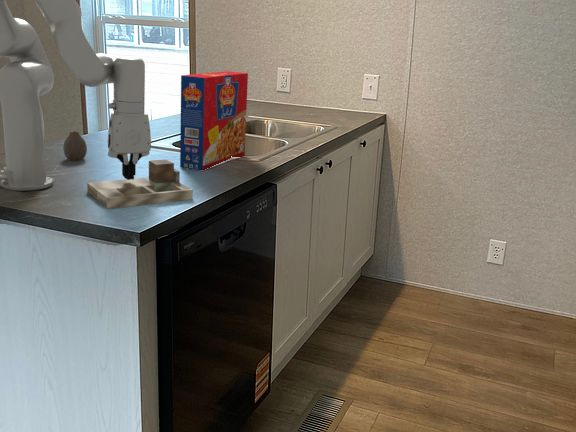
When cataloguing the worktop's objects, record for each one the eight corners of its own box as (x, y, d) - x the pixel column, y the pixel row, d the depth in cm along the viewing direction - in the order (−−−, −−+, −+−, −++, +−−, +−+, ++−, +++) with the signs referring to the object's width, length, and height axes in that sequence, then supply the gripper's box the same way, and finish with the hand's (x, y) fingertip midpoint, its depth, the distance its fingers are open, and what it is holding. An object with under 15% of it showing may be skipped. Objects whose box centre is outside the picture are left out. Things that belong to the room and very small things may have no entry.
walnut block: (156, 183, 166) (156, 164, 164) (148, 178, 170) (148, 160, 168) (173, 181, 169) (173, 163, 167) (166, 177, 173) (166, 159, 171)
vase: (59, 160, 195) (57, 132, 193) (73, 156, 201) (72, 129, 199) (77, 163, 193) (76, 134, 190) (91, 159, 199) (90, 131, 197)
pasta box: (202, 171, 193) (204, 77, 185) (180, 167, 196) (181, 75, 187) (244, 156, 218) (247, 73, 209) (224, 153, 220) (226, 71, 212)
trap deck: (108, 208, 151) (107, 186, 149) (87, 192, 163) (86, 171, 161) (192, 199, 163) (192, 178, 161) (167, 184, 175) (167, 165, 173)
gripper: (104, 110, 152) (105, 184, 157) (163, 109, 160) (161, 179, 166) (94, 105, 158) (95, 177, 163) (151, 105, 166) (150, 173, 171)
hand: (128, 178), depth 164 cm, fingers closed
